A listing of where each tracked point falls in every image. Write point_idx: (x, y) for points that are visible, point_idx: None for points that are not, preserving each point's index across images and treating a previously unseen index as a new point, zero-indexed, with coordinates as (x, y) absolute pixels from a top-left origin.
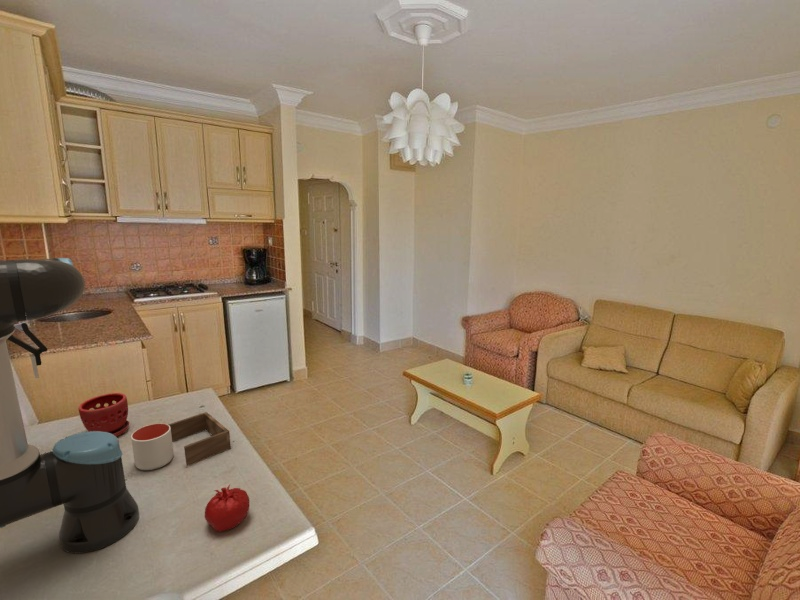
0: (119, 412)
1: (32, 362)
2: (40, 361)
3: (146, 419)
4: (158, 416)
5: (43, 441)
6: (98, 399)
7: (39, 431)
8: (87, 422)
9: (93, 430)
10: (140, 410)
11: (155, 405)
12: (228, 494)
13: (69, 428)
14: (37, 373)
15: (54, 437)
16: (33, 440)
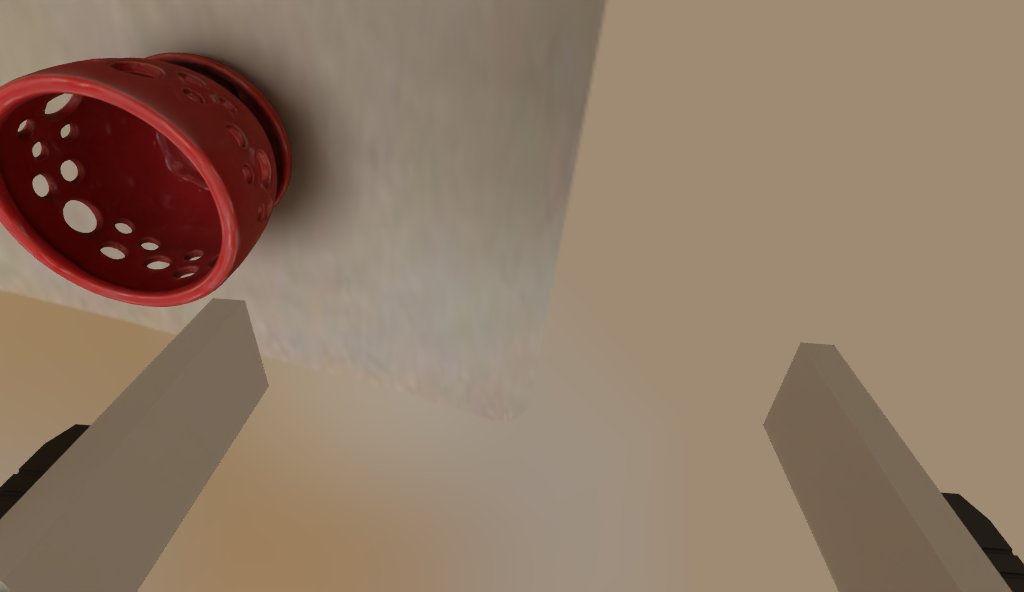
0: (128, 202)
1: (104, 476)
2: (28, 473)
3: None
4: None
5: (444, 270)
6: (161, 290)
7: (446, 357)
8: (237, 138)
9: (239, 103)
10: None
11: None
12: None
13: (359, 306)
14: (188, 332)
15: (409, 273)
16: (470, 304)
